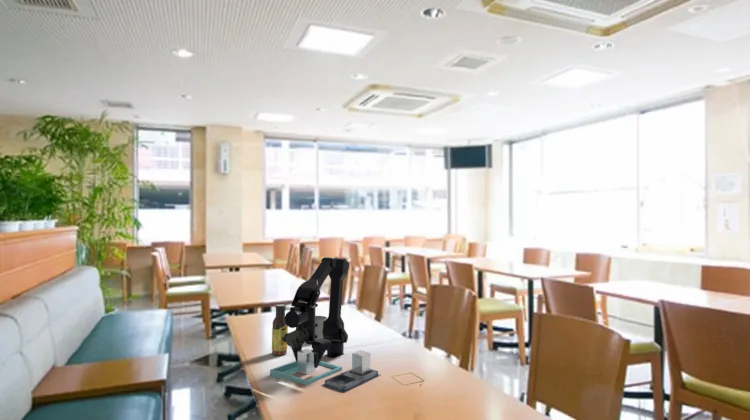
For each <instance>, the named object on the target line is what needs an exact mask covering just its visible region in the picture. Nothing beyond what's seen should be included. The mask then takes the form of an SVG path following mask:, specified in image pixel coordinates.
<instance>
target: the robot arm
mask: <svg viewBox="0 0 750 420" xmlns="http://www.w3.org/2000/svg"><path fill="white" fill-rule="evenodd" d="M349 269H350V263H349V261H348V260H347V259H346V258H340V257H339V258H338V257H330V256H329V257H327V256H326V257H325V256H324V257H322V259H321V261H320V263H319V265H318V266H317V268H316V269H315V271H314V272H313V273H312V275H311V277H309V279H308V280H306V281H304V282H302V283H301V284H300V285H299V286H298V287H297V290H296V292H295V294H294V297H293V300H292V302H291V307H289V311H288V312H286V313H285V323H286V325H287V326H288V328H291V329H294V328H295V329H294V330H293V331H290V332H288V333H286V334H285V336H284V342H287V343H286V344H287V347H290V348H291V350H292V353H293V357H294V359H295V360H294V361H296V362H298V351H301V350H303V345H304V344H306V345H309V346H310V345H311V349H310V350H311V351H312V352H313V354H314V368H315V369H316V368H317V369H318V367H319V363H320V361H322V358H323V357H324V356H325V357H328V358H332V359H336V358H338V357H339V358H340V357H341V356H344V355H345V353H344V352H345V351H344V345H345V344H347V342H348V340H349V334H348V333H347V331H346V329H345V323H344V320H343V318H342V304H343V301H342V300H343V286H344V279H346V277H347V276H348V271H349ZM328 277H329V278H330V291H329V306H328V317H327V319H326V321H324V322H323V330H322V333H323V338H321V339H318V340H315V338H317V336H318V335H315V327H317V326H318V324H317V323H315V316H316V308H317V307H318V306H319V304H318V303H317V301H318V300H319V298H320V295H321V288H322V285H323V284H324V283H325V281H326V279H327V278H328ZM325 353H326V354H325Z"/></svg>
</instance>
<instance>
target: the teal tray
mask: <svg viewBox="0 0 750 420" xmlns="http://www.w3.org/2000/svg"><path fill="white" fill-rule="evenodd" d="M319 365H320V366H323V367H326V368H329V369H331V370H328V371H325V372H323V373H321V374H318V375H316V376H314V377H311V378H309V379H303V378H300V377H298V376H295V375H294V374H296V373H298V372H297V367H298V362H296V360H294V361H290V362H288V363H285V364H282V365H280V366H276V367H273V368H271V369H269V376H271V377H274V378H277V379H283V378H284V379H287V380H290V381H293V382H296V383H298V384H301V385H305V386H307V385H309V384H312V383H314V382H317V381H319V380H321V379H324V378H326V377H329V376H331V375H334V374H336V373H338V372H341V371H343V367H342V366H339V365H337V364H332V363H330V362H326V361H322V360H320V363H319ZM319 365H318V366H319Z"/></svg>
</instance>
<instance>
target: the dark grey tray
mask: <svg viewBox="0 0 750 420" xmlns="http://www.w3.org/2000/svg"><path fill="white" fill-rule="evenodd" d="M380 376H382V374H379V371H378V370H376V369H372V368H370V373H369V374H367V375H365V376H363V377H362V376H359V375H356V374H352V368H350V369H347V370H346V371H344V372H341V373H339V374H337V375H334V376H332V377H330V378H329V377H328V378H327V379H325V380H324V383H323V384H321V386H322V387H324V388H328V389H329V390H334V391H335V392H336V391H337V392H340V393H342V394H345V393H348V392H350V391H351V390H354V389H355V388H358V387H360V386H362V385H364V384H366V383H368V382H371V381H373V380H374V379H376V378H378V377H380Z"/></svg>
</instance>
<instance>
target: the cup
mask: <svg viewBox="0 0 750 420" xmlns="http://www.w3.org/2000/svg"><path fill="white" fill-rule="evenodd" d="M327 318H328V317H327V316H325V315H315V323H317V324H318V326H317V327H315V335H318V336H317V338H315V340H318V339H321V338H323V333H322V330H323V322H324V321H326V319H327Z"/></svg>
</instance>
